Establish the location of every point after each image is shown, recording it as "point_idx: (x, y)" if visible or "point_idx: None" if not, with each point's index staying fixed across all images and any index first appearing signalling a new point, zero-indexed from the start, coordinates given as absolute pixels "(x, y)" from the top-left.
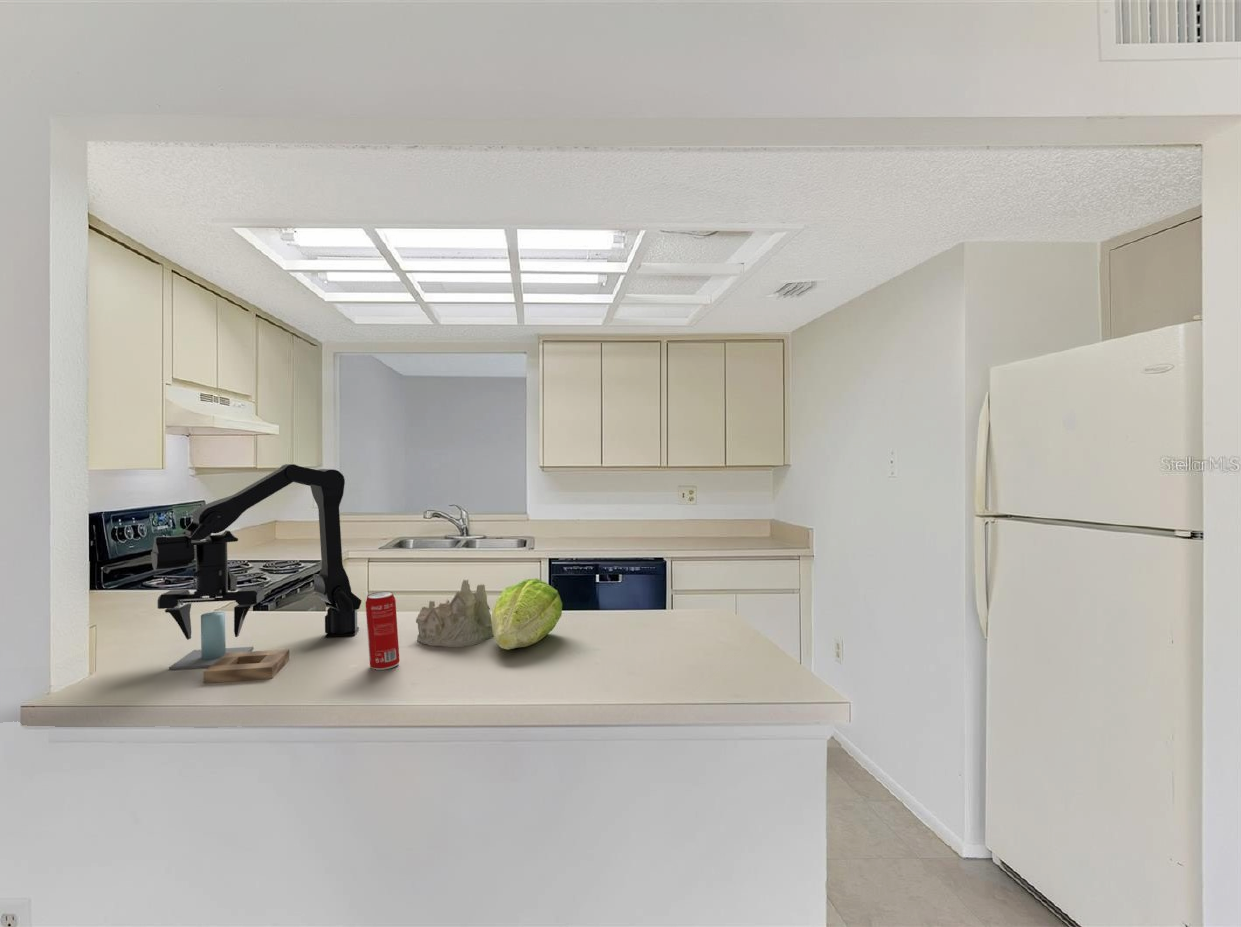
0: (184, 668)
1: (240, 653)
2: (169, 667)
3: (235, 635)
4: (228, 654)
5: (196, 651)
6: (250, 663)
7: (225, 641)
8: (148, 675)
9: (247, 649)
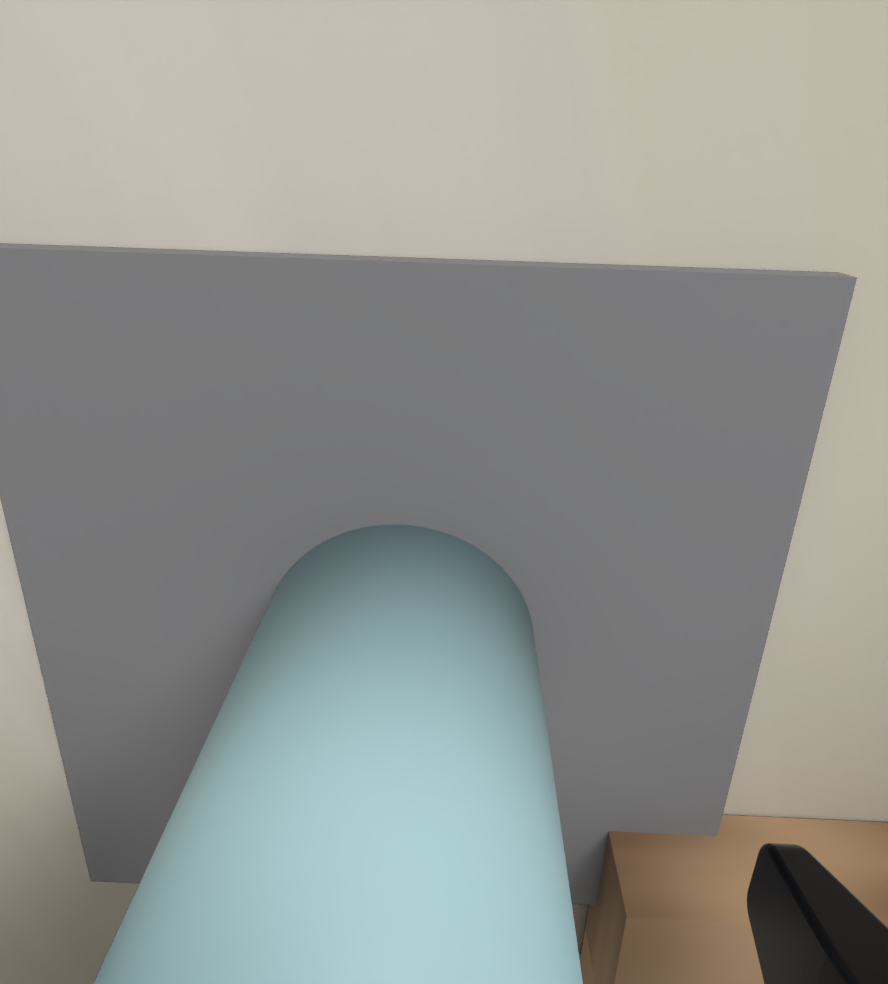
0: None
1: None
2: (96, 880)
3: (765, 940)
4: (659, 967)
5: (35, 342)
6: None
7: (550, 754)
8: (9, 938)
9: (777, 422)
